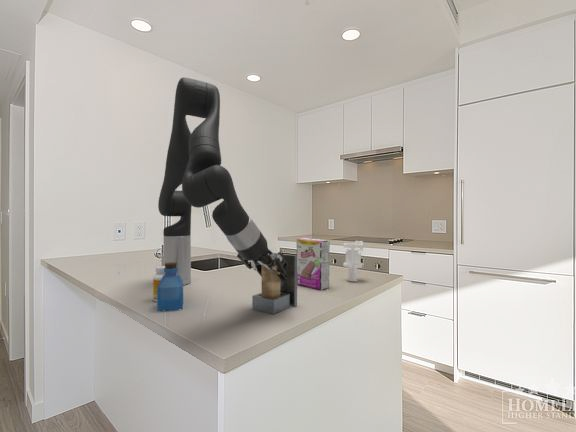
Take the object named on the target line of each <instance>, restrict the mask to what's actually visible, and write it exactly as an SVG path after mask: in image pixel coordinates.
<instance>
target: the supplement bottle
mask: <svg viewBox="0 0 576 432" xmlns="http://www.w3.org/2000/svg"><path fill="white" fill-rule="evenodd" d="M164 268H165V266H162V265H160V266H159V265H158V266H156V267H155V272H156V274H154V275H153V277H152V279H153V282H152V284H153V286H152V289H153V291H152V292H153V293H152V294H153V295H152V296H153V301H154V302H157V288H158V286H159V283H160V281H161V279H162V277H163V275H165V272H164Z"/></svg>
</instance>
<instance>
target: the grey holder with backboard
mask: <svg viewBox="0 0 576 432" xmlns="http://www.w3.org/2000/svg"><path fill="white" fill-rule="evenodd" d="M272 253H273V254H278V252H272ZM282 254H283V256H284V258H285V260H286V262H287V264H288V267H287V269H286V273H287V274H288V277H287V279H286V281H285V282H283V281H281V279H280V296H279V297H276V298H274V299H272V298H267V297H263V296H262V292H260V293H257V294H253V295H252V297H251V298H252V300H251V301H252V303H251V304H252V305H251V306H252V307H251V308H252V310H254V311H259V312H263V313H268V314H272V315H275V314H278V313H279V312H282V311H284V310H286V309H289V308H290V307H294V308H295V307H297V306H298V285H297V254H289V253H288V254H287V253H282Z"/></svg>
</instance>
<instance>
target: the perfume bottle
mask: <svg viewBox="0 0 576 432" xmlns="http://www.w3.org/2000/svg"><path fill="white" fill-rule="evenodd" d="M176 265H177V263H174V262H171V263H165V268H164V272H165V275H163V277H162V279H161V281H160V283H159V286H158V288H157V304H156V305H157V308H156V310H157V311H160V312H164V311H163V310H172V311H180V310H179V309H182V310H183V309H184V308H183V307H184V285H183V280H182V278H181V277H180V275H179V274H176V272H177V267H176Z"/></svg>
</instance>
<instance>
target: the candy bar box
mask: <svg viewBox="0 0 576 432" xmlns="http://www.w3.org/2000/svg"><path fill="white" fill-rule="evenodd" d="M296 255H297V286H303V287H306V288H309V289H315V290H318V291H324V290H326V289H329V288H330V240H328V239H321V238H320V239H318V238H309V237H301V238H297V239H296Z"/></svg>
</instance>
